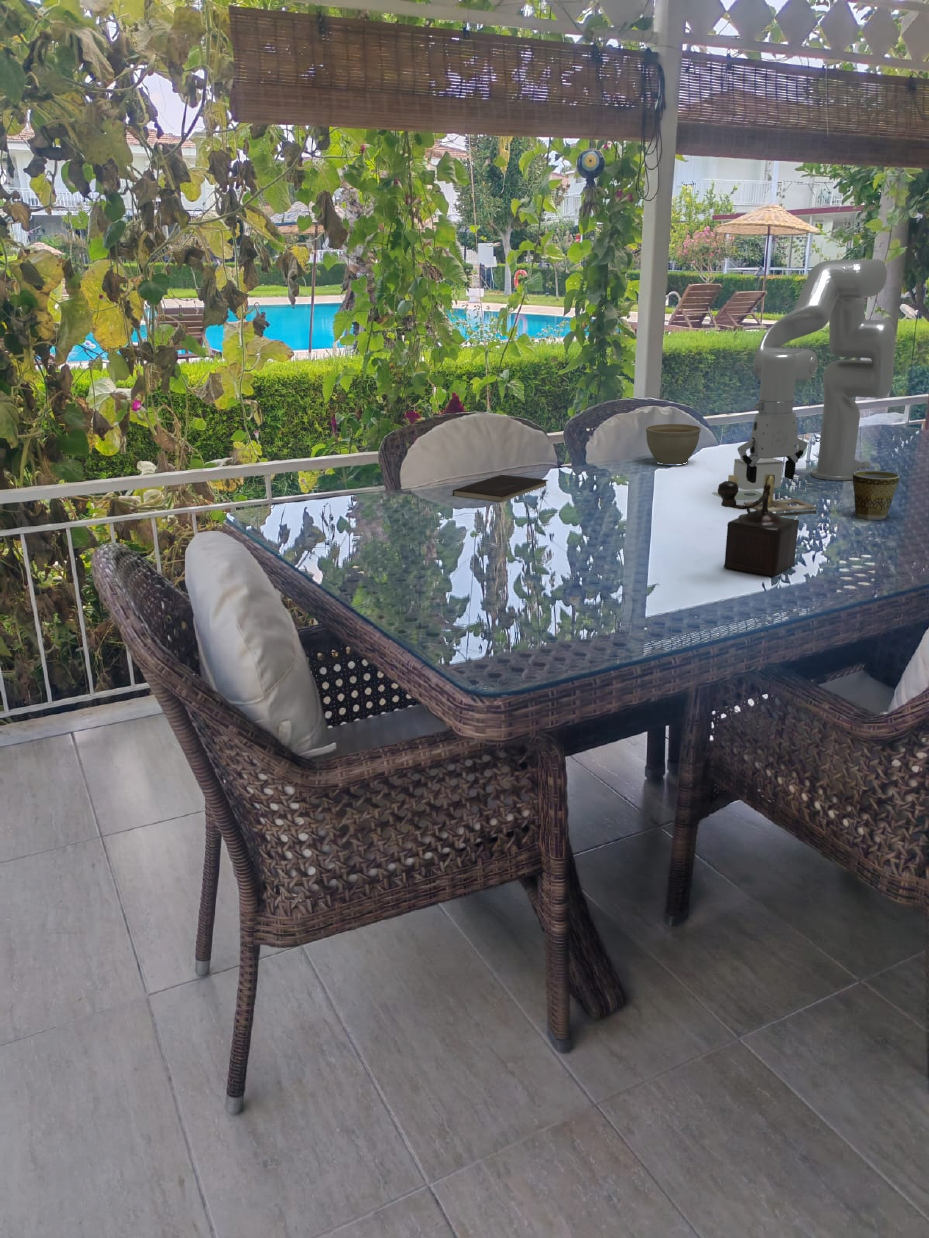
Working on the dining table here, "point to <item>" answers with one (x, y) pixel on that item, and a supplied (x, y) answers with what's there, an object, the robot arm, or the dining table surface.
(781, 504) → the board
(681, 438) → the planter bowl
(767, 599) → the dining table surface
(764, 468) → the block
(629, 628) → the dining table surface
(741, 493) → the pad
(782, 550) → the manual coffee grinder
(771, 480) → the brass pin
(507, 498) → the hardcover book
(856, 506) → the ceramic cup
